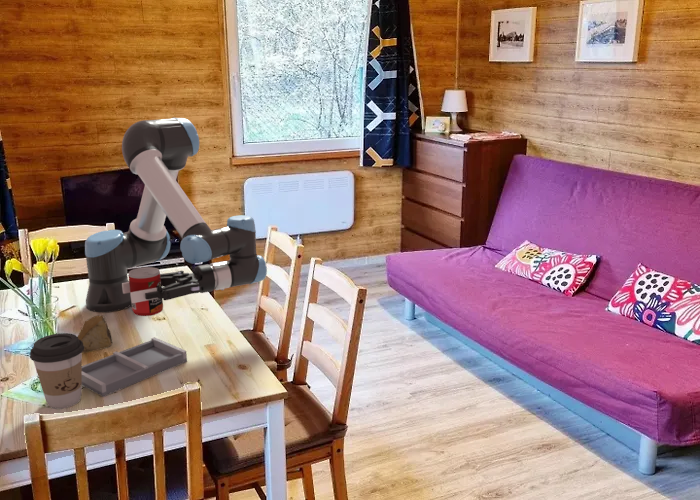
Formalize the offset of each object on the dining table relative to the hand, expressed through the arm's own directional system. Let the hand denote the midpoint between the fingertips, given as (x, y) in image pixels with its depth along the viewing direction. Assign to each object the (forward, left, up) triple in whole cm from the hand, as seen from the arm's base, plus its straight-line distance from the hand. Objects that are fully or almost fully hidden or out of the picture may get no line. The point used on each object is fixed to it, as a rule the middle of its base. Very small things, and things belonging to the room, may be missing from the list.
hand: (127, 293), depth 167 cm
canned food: (+2, +5, -6) cm, 8 cm away
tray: (+6, -5, -18) cm, 20 cm away
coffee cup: (+8, -23, -18) cm, 31 cm away
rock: (-14, -4, -18) cm, 23 cm away
